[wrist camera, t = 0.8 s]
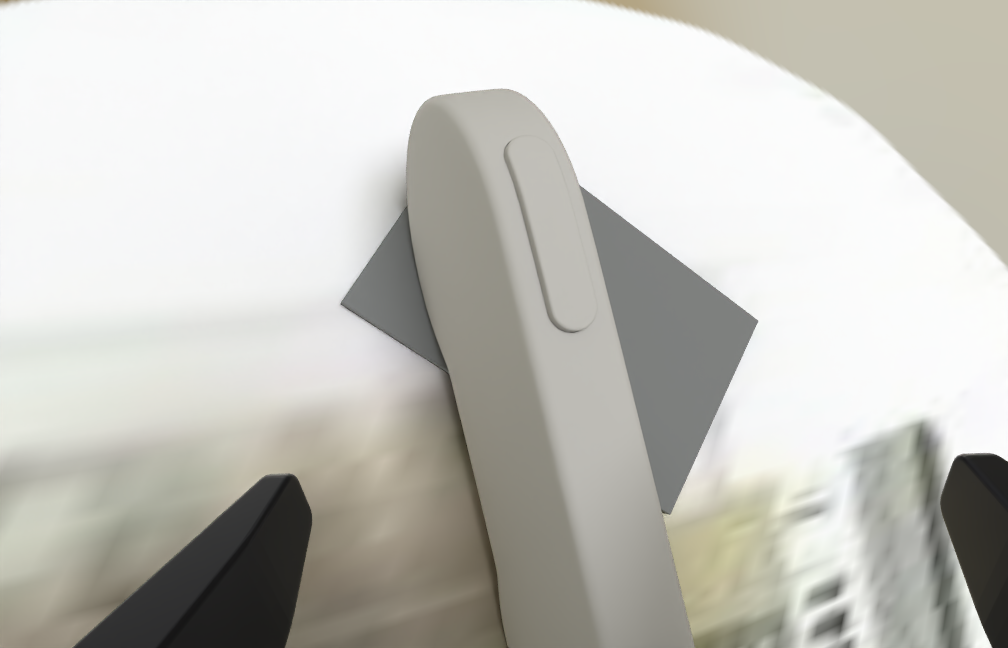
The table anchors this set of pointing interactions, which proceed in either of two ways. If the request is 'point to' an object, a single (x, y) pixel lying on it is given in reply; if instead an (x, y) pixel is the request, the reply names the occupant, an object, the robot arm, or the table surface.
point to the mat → (639, 322)
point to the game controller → (539, 378)
